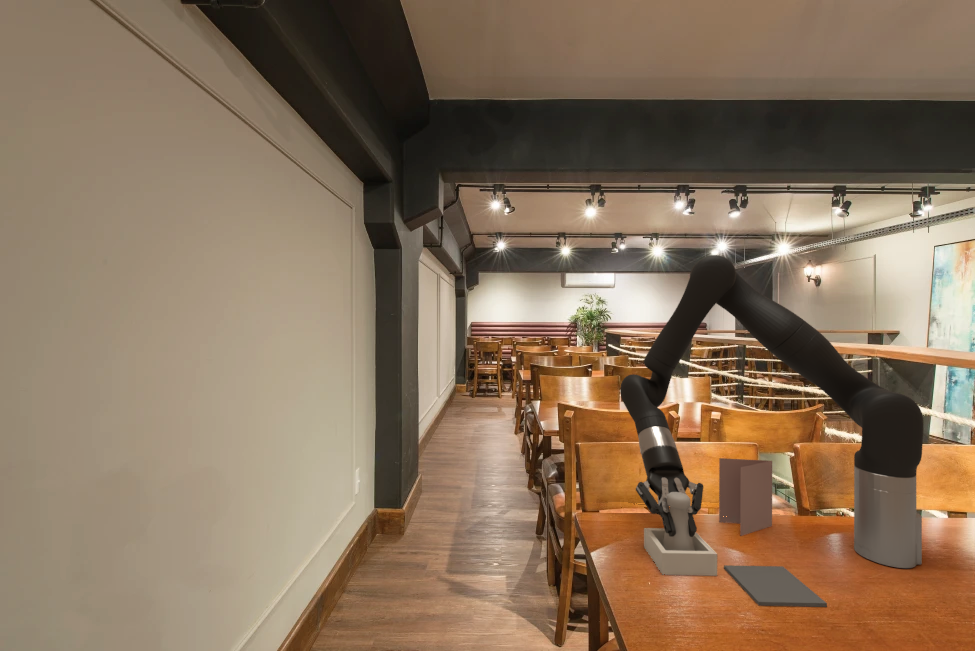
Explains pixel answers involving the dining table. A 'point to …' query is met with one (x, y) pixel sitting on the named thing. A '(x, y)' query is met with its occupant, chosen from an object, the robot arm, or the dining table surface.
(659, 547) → the collar
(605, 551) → the dining table surface
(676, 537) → the salt shaker
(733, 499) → the greeting card
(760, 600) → the mat
